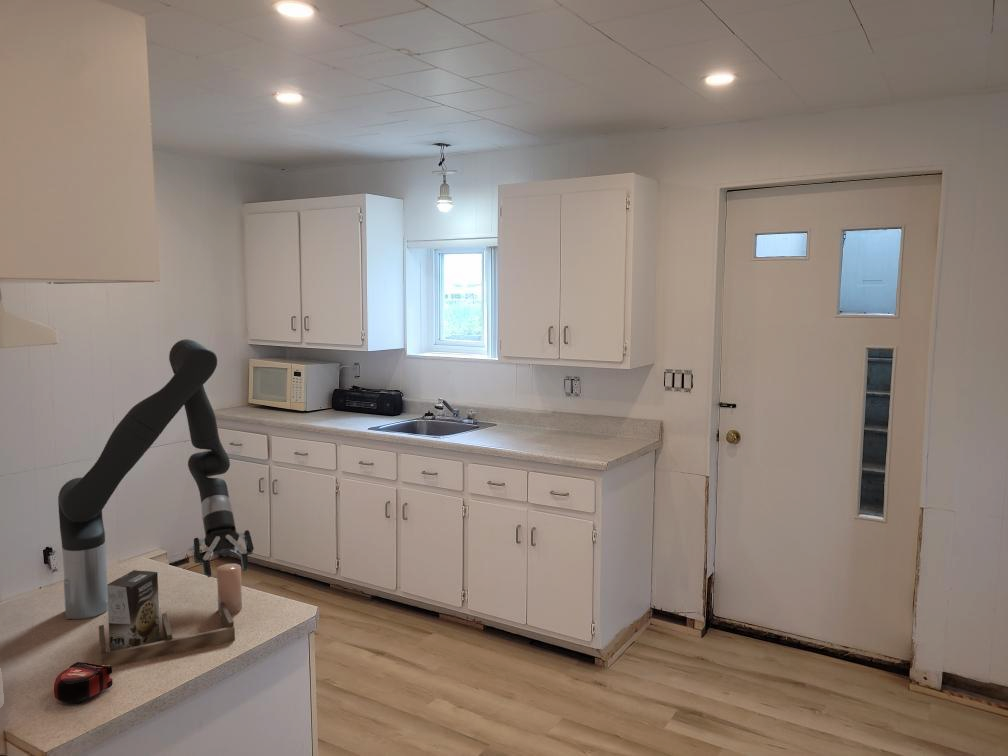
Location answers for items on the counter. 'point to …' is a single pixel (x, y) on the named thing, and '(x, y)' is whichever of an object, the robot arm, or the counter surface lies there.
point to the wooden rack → (168, 642)
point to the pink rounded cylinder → (229, 587)
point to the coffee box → (133, 610)
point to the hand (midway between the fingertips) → (227, 572)
